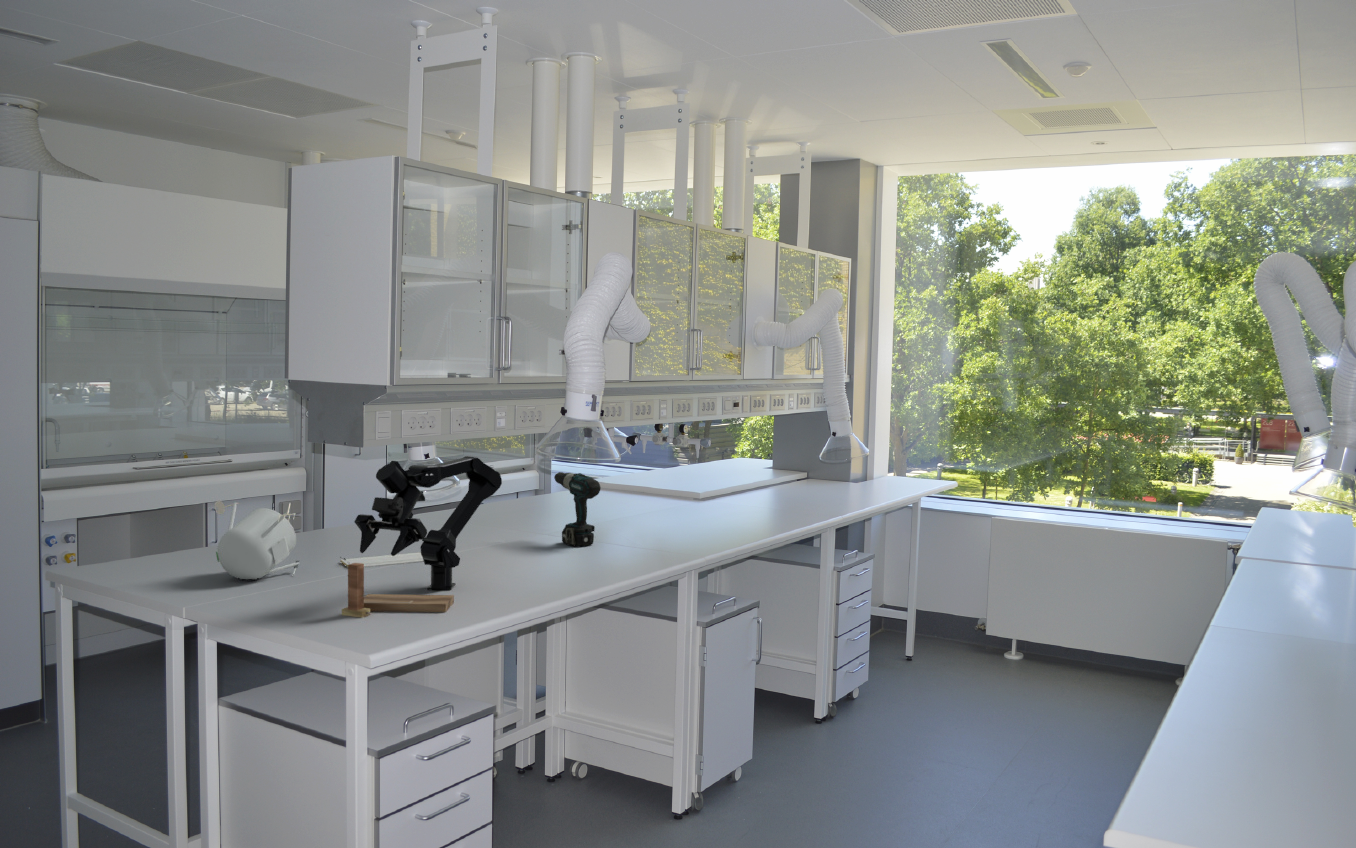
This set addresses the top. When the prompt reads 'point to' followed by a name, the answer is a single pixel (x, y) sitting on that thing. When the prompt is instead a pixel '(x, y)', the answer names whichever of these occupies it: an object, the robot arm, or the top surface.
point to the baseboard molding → (385, 560)
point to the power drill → (579, 507)
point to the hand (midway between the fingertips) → (376, 553)
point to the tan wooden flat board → (408, 602)
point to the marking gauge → (356, 592)
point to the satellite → (256, 543)
